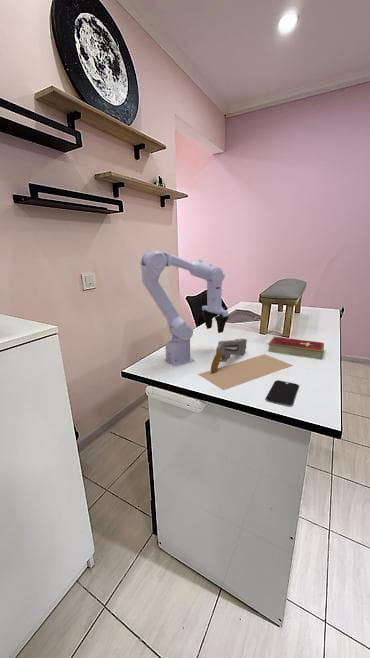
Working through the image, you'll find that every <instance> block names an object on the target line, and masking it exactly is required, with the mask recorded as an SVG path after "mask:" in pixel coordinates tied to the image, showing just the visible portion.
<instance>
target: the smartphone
mask: <svg viewBox="0 0 370 658" xmlns="http://www.w3.org/2000/svg"><path fill="white" fill-rule="evenodd" d="M273 382H274V383H273V385H272V386H271V388H270V389H269V391H268V393H267V395H266V396H265V401H266V402H267V403H272V404H275V405H280V406H282V407H283V406H284V407H288V408H290V407H293V406H294V403H295V401H296V397H297V396H298V395H297V394H298V391H299V389H300V385H299V384H297V383H293V382H289V381H284V380H283V381H282V380H280V379H279V380H275V381H273Z"/></svg>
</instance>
